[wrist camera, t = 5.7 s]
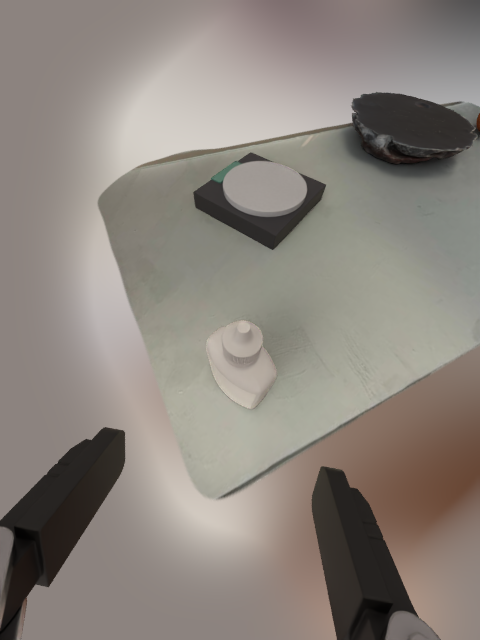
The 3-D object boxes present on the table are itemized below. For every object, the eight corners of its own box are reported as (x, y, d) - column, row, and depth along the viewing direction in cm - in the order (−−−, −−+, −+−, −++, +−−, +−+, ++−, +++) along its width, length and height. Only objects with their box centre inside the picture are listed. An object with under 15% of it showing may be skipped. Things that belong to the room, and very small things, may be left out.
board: (397, 114, 52) (413, 83, 48) (482, 164, 43) (510, 132, 39) (317, 132, 47) (326, 99, 43) (393, 193, 38) (414, 159, 34)
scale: (195, 207, 35) (191, 186, 32) (249, 167, 41) (250, 146, 38) (272, 250, 31) (276, 230, 29) (320, 199, 37) (328, 179, 34)
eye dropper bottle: (224, 419, 21) (217, 391, 11) (209, 362, 24) (191, 294, 13) (269, 404, 22) (303, 365, 11) (250, 350, 24) (263, 277, 14)
